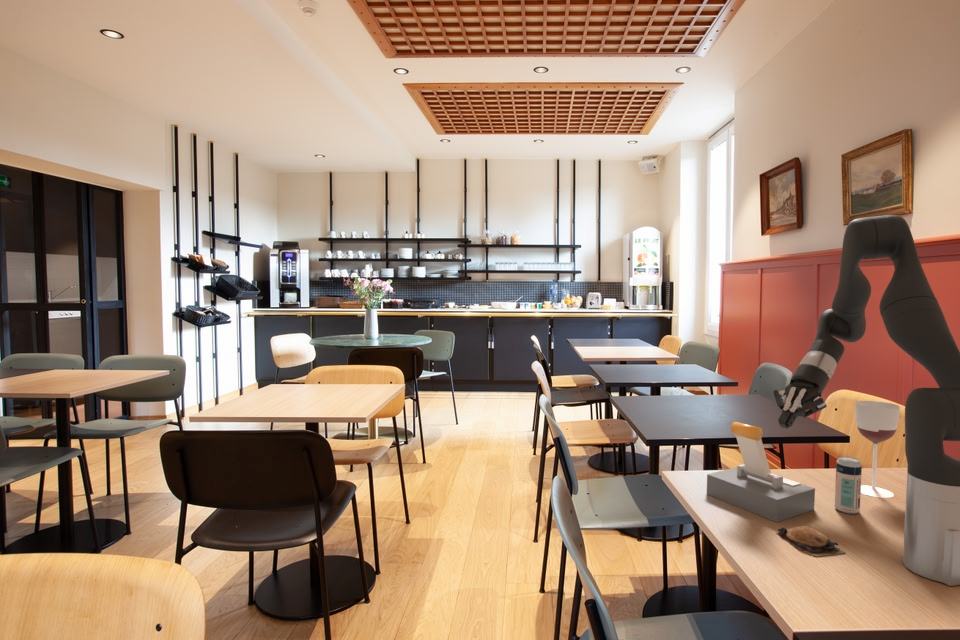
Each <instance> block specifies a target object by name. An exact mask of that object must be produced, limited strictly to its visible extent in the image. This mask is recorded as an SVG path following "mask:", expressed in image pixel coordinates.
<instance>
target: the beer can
mask: <svg viewBox="0 0 960 640" xmlns="http://www.w3.org/2000/svg"><path fill="white" fill-rule="evenodd" d="M862 466H863V465H862V463H861V462H860V460H859V459H858V458H855V457H852V456H851V457H850V456H839V457H838V458H837V460H836V465H835V482H834V483H835V484H834V485H835V486H834V487H835V489H834V508H835V509H836V510H837V511H839V512H841V513H843V514H849V515H855V514H858V513H860V510H861V495H862V493H861V485H862V469H863V467H862Z"/></svg>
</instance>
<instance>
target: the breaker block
mask: <svg viewBox="0 0 960 640" xmlns="http://www.w3.org/2000/svg"><path fill="white" fill-rule="evenodd" d="M744 468H745V465H744V463H743V464H739V465H738V464H737V466H736V467H731V468H728V469H724V470H719V471H716V472H711V473H708V474H707V475H706V495H708V496H711V497H713V498H715V499H718V500H720V501H722V502H725V503H727V504H730V505H733V506H736V507H738V508H740V509H743V510H745V511H747V512H750V513H752V514H755V515H757V516H760V517H763V518H765V519H767V520H770V521H772V522H775V523H779V522H781V521H784V520H788V519H791V518H794V517H796V516H799V515H802V514H806V513H809V512H811V511H815V496H816V494H815V493H816V488H815V487H812V486H809V485H806V484H802V483H801V482H798V481H795V480H792V479H788V478H785V477H783V475H776V474H774V473H771V474H770V475H773V476H774V477H772V483H770V482H767V481H764V480H761V479H758V478H755V477H752V476H749V475H746V474H744Z"/></svg>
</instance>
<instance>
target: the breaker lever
mask: <svg viewBox="0 0 960 640" xmlns="http://www.w3.org/2000/svg"><path fill="white" fill-rule="evenodd" d="M730 432H731V434H732V435H735V438H736V441H737V445H738V448H739V452H740V454H741V458H742V461H743V464H744V465H745V468H744V474H746V475H749V476H752V477H755V478H758V479H761V480H764V481H767V482H770V483H772V477H774V476H773V475H774V474H773V475H770V474H772V473H771V468H770V465H769V462H768V457H767V454H766V451H765V448H764V444H763V439H762V437H763V435H764V434H763V433H764V432H763V429H762V427H758V426H755V425H751V424H747V423H742V422H738V421H733V422H732V423H731V427H730Z"/></svg>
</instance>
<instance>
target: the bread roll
mask: <svg viewBox="0 0 960 640" xmlns="http://www.w3.org/2000/svg"><path fill="white" fill-rule="evenodd" d="M777 531H778V532H775V534H776V535H777V536H778V537H780V538H781V539H783V541H785V542H787V543H788V544H791V545H792V546H793V547H795V548H797V549H798V550H800V551H802V552H804V553H806V554H808V555H810V556H811V557H813V558H822V557H829V556H839V555H846V551H844V550H843V549H842V548H839V547H838V546H839V544H838V542H834V541H832V540H831V539H830V538H828V536H826V535H825V534H824V533H822V532H821V531H819V530H817V529H816V528H813V527H811V526H807V525H801V526H796V527H792V528H790V529H787V528H786V527H780V528H778V529H777Z"/></svg>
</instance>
